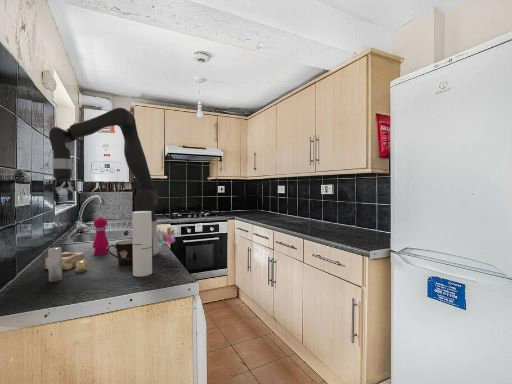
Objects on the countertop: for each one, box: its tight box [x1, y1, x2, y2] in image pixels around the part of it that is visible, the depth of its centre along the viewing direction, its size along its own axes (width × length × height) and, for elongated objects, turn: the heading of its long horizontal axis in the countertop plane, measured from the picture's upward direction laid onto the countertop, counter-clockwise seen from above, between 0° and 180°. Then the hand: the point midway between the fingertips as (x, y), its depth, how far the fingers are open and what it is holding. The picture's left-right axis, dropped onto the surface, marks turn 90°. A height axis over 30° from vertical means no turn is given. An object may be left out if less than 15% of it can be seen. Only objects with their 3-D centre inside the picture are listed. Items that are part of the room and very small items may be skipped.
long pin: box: [47, 246, 63, 283], centre depth 103 cm, size 4×4×12 cm
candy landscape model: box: [130, 227, 176, 247], centre depth 166 cm, size 25×24×9 cm
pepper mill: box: [92, 214, 110, 256], centre depth 141 cm, size 7×7×20 cm
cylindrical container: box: [131, 211, 153, 277], centre depth 110 cm, size 7×7×25 cm
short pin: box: [75, 259, 88, 273], centre depth 114 cm, size 4×4×4 cm
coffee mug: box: [107, 239, 133, 267], centre depth 123 cm, size 12×9×10 cm
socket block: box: [45, 251, 86, 270], centre depth 121 cm, size 10×10×4 cm
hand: (63, 200), depth 137 cm, fingers open, 8 cm apart
